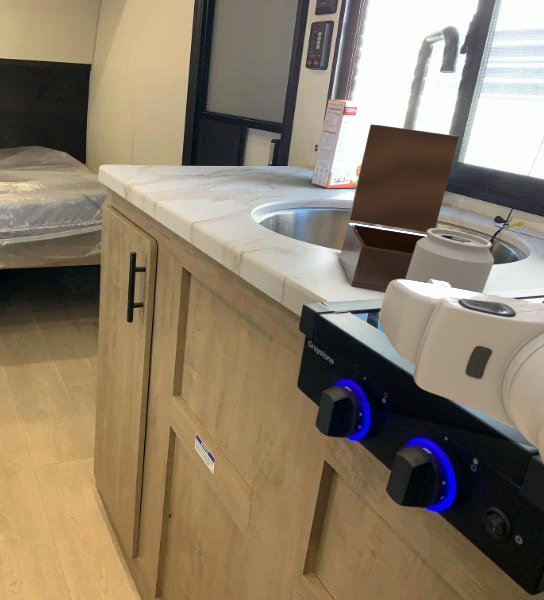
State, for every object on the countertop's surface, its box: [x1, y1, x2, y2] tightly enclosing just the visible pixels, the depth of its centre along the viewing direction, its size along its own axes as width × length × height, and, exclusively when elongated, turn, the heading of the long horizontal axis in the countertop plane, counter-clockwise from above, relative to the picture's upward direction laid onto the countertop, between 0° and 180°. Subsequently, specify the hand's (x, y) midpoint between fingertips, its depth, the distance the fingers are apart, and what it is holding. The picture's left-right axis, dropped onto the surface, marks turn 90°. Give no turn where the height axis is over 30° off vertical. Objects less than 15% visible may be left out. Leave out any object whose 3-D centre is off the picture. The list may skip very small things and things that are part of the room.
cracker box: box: [310, 98, 384, 189], centre depth 150 cm, size 14×6×21 cm, turn 122°
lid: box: [348, 124, 460, 233], centre depth 90 cm, size 14×12×5 cm
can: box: [406, 227, 495, 293], centre depth 64 cm, size 8×8×12 cm
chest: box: [339, 222, 427, 293], centre depth 84 cm, size 13×12×6 cm
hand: (491, 298), depth 51 cm, fingers open, 8 cm apart
